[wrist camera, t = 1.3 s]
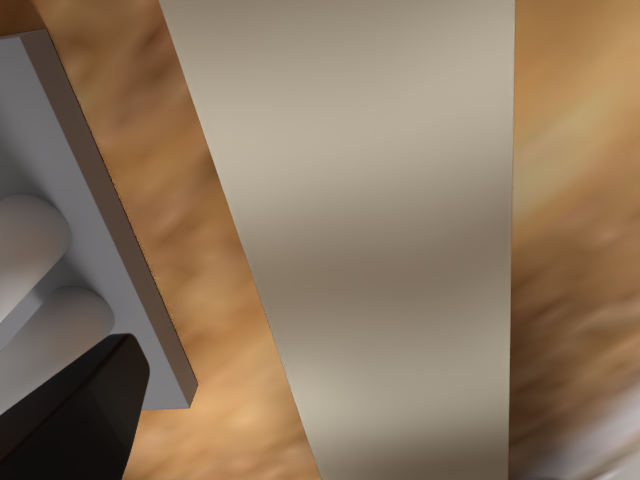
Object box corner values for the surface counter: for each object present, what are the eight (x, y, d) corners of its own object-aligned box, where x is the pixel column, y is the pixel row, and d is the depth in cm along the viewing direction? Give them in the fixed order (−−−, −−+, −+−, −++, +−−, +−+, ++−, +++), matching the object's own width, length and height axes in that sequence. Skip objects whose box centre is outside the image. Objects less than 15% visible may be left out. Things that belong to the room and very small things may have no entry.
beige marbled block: (477, 382, 16) (507, 497, 13) (335, 392, 17) (329, 502, 14) (455, -249, 8) (521, -380, 5) (184, -171, 9) (79, -234, 6)
